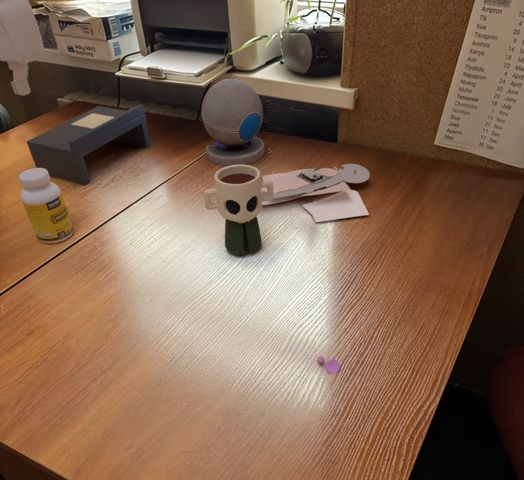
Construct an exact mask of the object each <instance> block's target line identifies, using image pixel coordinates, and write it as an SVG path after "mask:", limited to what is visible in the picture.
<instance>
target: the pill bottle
mask: <svg viewBox="0 0 524 480" xmlns="http://www.w3.org/2000/svg"><path fill="white" fill-rule="evenodd" d="M18 179H19V182H20V185H21V187H23V189H22V190H21V191H20V200H21V203H22V205H23V207H24V211H25V212H26V215H27V217H28V220H29V222H30V224H31V227H32V229H33V232H34V234H35V237H36V238H37V240H38V241H39V242H41V243H44V244H57V243H58V244H59V243H61V242H64V241H67V240H68V239H69V238H70V237H71V236H72V235H73V233H74V226H73V223H72V219H71V217H70V215H69V211H68V208H67V206H66V203H65V199H64V196H63V194H62V191H61V188H60V187H59V186H58V185H57V184H56V183H55V182H52V181H51V176H49V173H48V171H47V170H46V169H44V168H36V167H33V168H28V169H26V170H24V171H22V172H21V173H19V175H18Z"/></svg>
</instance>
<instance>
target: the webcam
mask: <svg viewBox="0 0 524 480" xmlns="http://www.w3.org/2000/svg"><path fill="white" fill-rule="evenodd" d="M201 103H202V104H201V119H202V123H203V127H204V128H205V130H206V132H207V134H208V135H209V136H210V137H211V139H213V140H214V141H216V142H214V143H213V144H212V145H207V146H206V148H205V151H206V152H205V153H206V158H207V160H209V161H210V162H211V163H214V164H217V165H222V166H231V165H240V164H243V165H248V164H250V163H253V162H256V161H257V160H259V159H261V158H262V157H263V156H264V155H265V144H264V141H263V140H262V139H261V138H260V137H259V136H258V137H257V136H256V135H257V134H258V133H259V131H260V129H261V127H262V123H263V119H264V108H263V103H262V101H261V97H260V96H259V94H258V92H256V90H255V88H253V86H251V85H250V84H249V83H247V82H245V81H243V80H241V79H238V78H224V79H222V80H220V81H218V82H216V83H214V84H213V85H212V86H210V87H209V89H208V90H207V91H206V93H205V95H204V97H203V100H202V102H201Z"/></svg>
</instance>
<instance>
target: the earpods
mask: <svg viewBox="0 0 524 480" xmlns="http://www.w3.org/2000/svg"><path fill="white" fill-rule="evenodd" d="M316 361H317V363H319V364H324V362H325V357H324V356H322V355H320V356H318V357H317V359H316ZM340 368H341V364H340V362H339V361H338V359H337V360H336V359H334V358H331V359H328V360H327V361H326V363H325V370H326V371H327V372H328V373H329V374H336V373H338V372H339V371H340Z"/></svg>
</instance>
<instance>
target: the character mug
mask: <svg viewBox="0 0 524 480" xmlns="http://www.w3.org/2000/svg"><path fill="white" fill-rule="evenodd" d="M213 179H214V188H209V189H206V190H204V191H203V200H204V206H205V208H206V210H210V211H211V210H217V211H218V212H219V214H220V216H221V217H222V218H223V219H225V222H224V224H225V225H224V247H225V249H226V250H227V252H229V253H231V254H232V255H237V256H244V255H245V250H248V252H249V255H252V254H254V253H256V252H258V251H259V250H260V249H261V247H262V245H263V244H262V241H263V239H262V235H261V228H260V223H259V220H258V217H257V216H258V215H259V214H260V213H261V212H262V210H263V205H262V202H263V201H270V200H272V199H273V183H272V181H263V180H262V178H261V171H260V170H259V169H258V168H257V167H255V166H252V165H249V164H240V165H225V166H224V167H222V168H220V169H217V171H216V172H215V173H214V178H213ZM263 187H267V195H261V188H263ZM212 196H216V202H212V199H211V197H212Z"/></svg>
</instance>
